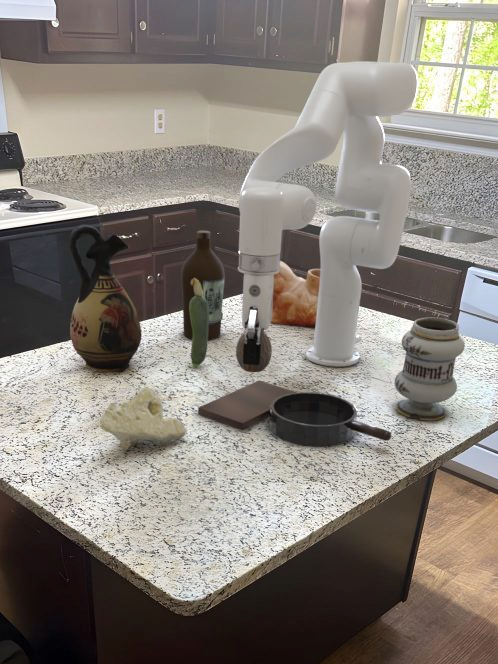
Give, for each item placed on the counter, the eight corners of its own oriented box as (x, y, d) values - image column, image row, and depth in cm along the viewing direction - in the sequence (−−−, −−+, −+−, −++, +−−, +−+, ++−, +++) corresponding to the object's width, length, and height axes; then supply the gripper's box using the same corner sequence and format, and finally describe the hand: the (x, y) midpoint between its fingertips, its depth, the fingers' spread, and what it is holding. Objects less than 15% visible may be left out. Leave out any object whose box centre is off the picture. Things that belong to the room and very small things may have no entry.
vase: (274, 366, 142) (277, 322, 138) (264, 377, 137) (267, 332, 132) (241, 361, 144) (243, 317, 140) (230, 372, 139) (232, 327, 134)
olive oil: (172, 333, 184) (172, 230, 171) (203, 326, 190) (204, 226, 177) (200, 344, 178) (202, 237, 165) (231, 335, 184) (235, 232, 171)
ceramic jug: (133, 352, 171) (129, 218, 155) (148, 375, 158) (145, 231, 143) (61, 358, 166) (49, 220, 150) (71, 381, 154) (58, 233, 138)
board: (258, 386, 154) (258, 380, 154) (301, 400, 149) (301, 393, 148) (198, 414, 141) (198, 407, 140) (242, 430, 135) (242, 423, 134)
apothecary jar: (385, 417, 143) (400, 327, 133) (395, 395, 152) (408, 311, 143) (448, 427, 139) (467, 336, 130) (453, 405, 149) (471, 318, 140)
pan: (299, 404, 147) (301, 385, 145) (370, 426, 138) (372, 407, 136) (252, 428, 136) (253, 409, 134) (325, 454, 127) (327, 434, 125)
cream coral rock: (170, 433, 138) (106, 386, 132) (193, 414, 133) (128, 364, 127) (150, 490, 128) (79, 443, 122) (173, 472, 123) (101, 421, 117)
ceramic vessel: (259, 308, 206) (262, 254, 198) (351, 318, 201) (357, 262, 193) (248, 322, 195) (251, 265, 187) (345, 332, 189) (352, 274, 182)
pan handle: (351, 426, 133) (352, 417, 132) (392, 440, 128) (393, 430, 127) (346, 429, 131) (347, 420, 130) (387, 443, 127) (389, 434, 126)
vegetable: (209, 365, 165) (211, 276, 155) (206, 371, 161) (208, 280, 151) (190, 364, 165) (190, 274, 155) (187, 370, 162) (187, 279, 151)
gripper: (275, 274, 122) (268, 374, 132) (283, 254, 137) (276, 345, 146) (231, 271, 123) (227, 371, 132) (244, 251, 138) (240, 342, 147)
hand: (253, 356), depth 139 cm, fingers closed on vase, 7 cm apart
